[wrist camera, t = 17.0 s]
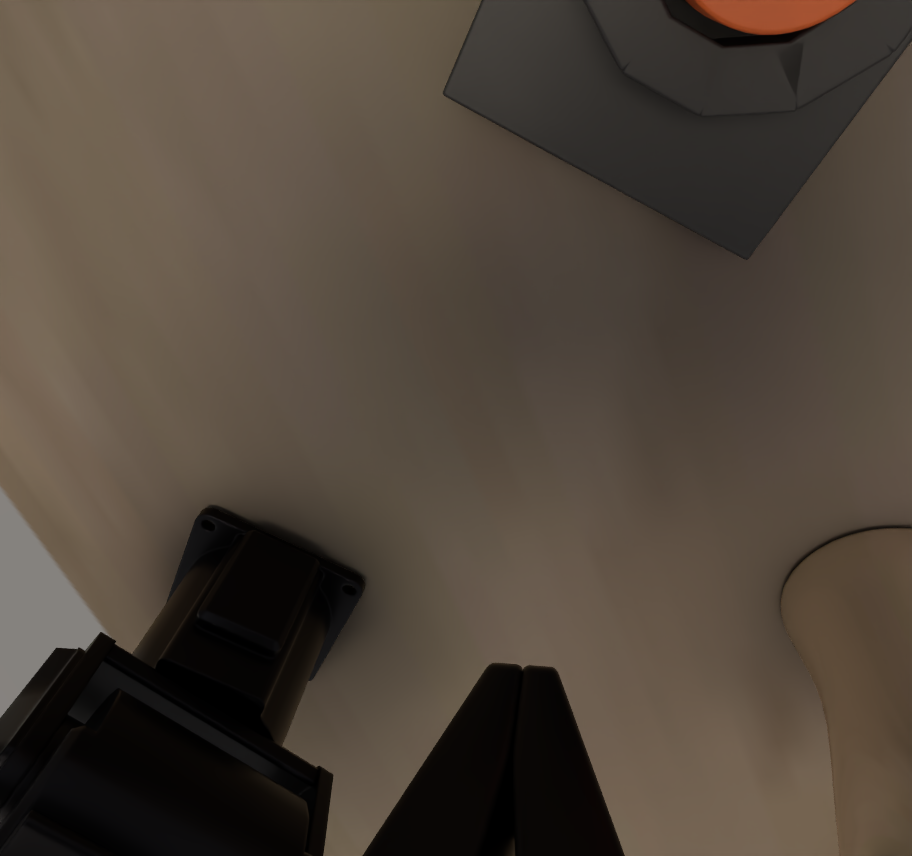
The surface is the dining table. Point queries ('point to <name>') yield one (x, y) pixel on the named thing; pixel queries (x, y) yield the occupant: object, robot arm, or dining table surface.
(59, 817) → the robot arm
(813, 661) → the beer glass
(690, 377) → the dining table surface
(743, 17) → the power button
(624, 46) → the switch block
